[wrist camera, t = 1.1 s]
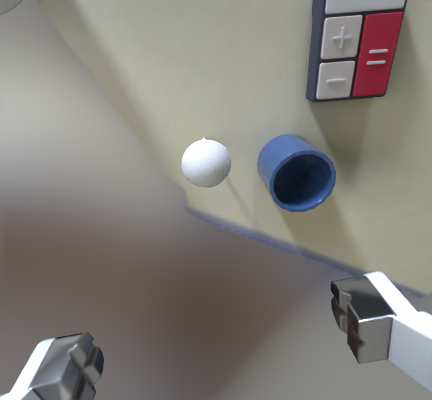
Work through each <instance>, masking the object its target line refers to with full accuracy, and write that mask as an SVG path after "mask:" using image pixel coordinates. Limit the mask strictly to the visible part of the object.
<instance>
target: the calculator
mask: <svg viewBox="0 0 432 400" xmlns="http://www.w3.org/2000/svg"><path fill="white" fill-rule="evenodd" d="M406 1H407V0H313V6H312V18H313V24H312V35H311V46H310V58H309V69H308V80H307V91H306V98H307V99H309V100H311V101H313V102H325V101H337V100H348V99H360V98H372V97H382V96H384V95H385V94H386V90H387V85H388V81H389V76H390V72H391V68H392V63H393V59H394V54H395V50H396V46H397V41H398V37H399V32H400V28H401V23H402V19H403V15H404V10H405V6H406Z"/></svg>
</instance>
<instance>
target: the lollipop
mask: <svg viewBox="0 0 432 400" xmlns="http://www.w3.org/2000/svg"><path fill="white" fill-rule="evenodd" d="M230 167H231V159H230V155H229V152H228V151H227V149H226V148H225V147H224V146H223V145H222V144H220V143H218V142H216V141H212V140H206V139H205V138H203V140H200V141H197V142H195V143H193V144H192V145H191V146H190V147H189V148H188V149H187V150H186V152H185V153H184V155H183V158H182V171H183V174H184V176H185V177H186V179H187V180H188V181H189V182H191V183H192V184H194V185H196V186H199V187H213V186H216V185H218V184H219V183H221V182H222V181H223V180H224V179H225V178H226V176H227V175H228V173H229V171H230Z"/></svg>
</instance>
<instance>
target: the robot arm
mask: <svg viewBox="0 0 432 400" xmlns="http://www.w3.org/2000/svg"><path fill="white" fill-rule="evenodd" d="M21 1H22V0H0V14H4V13H7V12H9V11H11V10H12V9H14V8H15V7H16V6H17V5H18V4H19V3H20V2H21ZM331 291H332V293H333V295H334V297H333V298H332V300H331V303H332V310H333V314H334V317H335V319H336V322H337V324H338V326H339V328H340V330H341V331H343V332H344V333H346V334H347V338H348V339H347V343H348V345H349V347H350V349H351V350H352V352H353V354H354V356H355V358H356V360H357V362H358V363H359V364H361V363H368V362H374V361H380V360H386V359H388V361H389V362H391V363H392V364H393V365H395V366H396V367H397V368H399V369H400V370H401V371H402V372H404V373H405V374H406V375H408V376H409V377H410V378H411V379H413V380H414V381H415V382H417V383H418V384H419V385H421V386H422V387H423V388H424V389H426V390H427V391H428V392H430V393H431V394H432V315H430V314H427V313H426V312H417V311H416V310H415V308H414V307H413V306H412V305H411V304H410V303H409V302H408V301H407V299H406V298H405V297H404V296H403V295H402V294H401V293H400V292H399V290H398V289H397V288H396V287H395V286H394V285H393V284H392V283H391V281H390V280H389V279H388V278H387V277H386V276H385V275H384V274H383V273H382V272H380V271H378V272H373V273H368V274H364V275H358V276H354V277H349V278H345V279H340V280H336V281H332V282H331ZM92 341H93V338H92V336H91V335H90V333H80V334H74V335H69V336H63V337H58V338H53V339H47V340H43V341H41V342H40V343H39V344H38V345H37V347H36V348H35V350H34V352H33V354H32V355H31V357H30V359H29V360H28V362H27V364H26V366H25V368H24V369H23V371H22V373H21V374H20V376H19V378H18V380H17V381H16V383H15V385H14V387H13V388H12V390H11V392H10V393H8V394H5V395H4V396H2V397H1V398H0V400H94V397H95V394H96V391H95V388H94V385H95V384H96V382H97V381H98V380H99V379H100V377H101V374H102V371H103V363H104V358H103V354H102V351H101V350H100V348H99V347H98V346H95V345H94V344H92Z"/></svg>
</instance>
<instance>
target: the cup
mask: <svg viewBox="0 0 432 400" xmlns="http://www.w3.org/2000/svg"><path fill="white" fill-rule="evenodd" d="M258 171H259V174H260V176H261V178H262V180H263V182H264V184H265V186H266V188H267V189H268V191H269V193H270V195H271V197H272V199H273V200H274V202H275V203H276V204H277V205H279V206H280V207H281V208H283V209H285V210H288V211H291V212H303V211H307V210H310V209H313V208H315V207H316V206H318V205H320V204H321V203H323V202H324V201H325V199H326V198H327V197H328V196H329V195H330V194H331V192H332V190H333V187H334V185H335V179H336V171H335V168H334V165H333V162H332V161H331V160H330V159H329V158H328V157H327V156H326V155H325V154H324V153H322V152H321V151H320V150H318V149H317V148H315V147H314V146H313V145H311V144H310V143H309V142H307V141H306V140H305V139H302V138H301V137H298V136H295V135H282V136H279V137H276V138H274V139H273V140H271V141H270V142H268V143H267V144H266V145H265V147H264V148H263V149H262V151H261V153H260V155H259V158H258Z"/></svg>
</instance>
